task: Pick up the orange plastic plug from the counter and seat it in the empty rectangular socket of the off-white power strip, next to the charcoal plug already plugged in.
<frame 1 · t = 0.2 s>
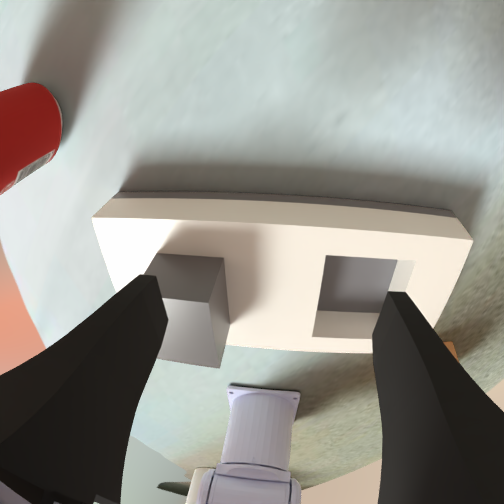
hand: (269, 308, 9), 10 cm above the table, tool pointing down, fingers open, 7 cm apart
power strip: (281, 262, 21), on the table
beverage can: (42, 120, 17), on the table
utensil holder: (221, 473, 62), on the table
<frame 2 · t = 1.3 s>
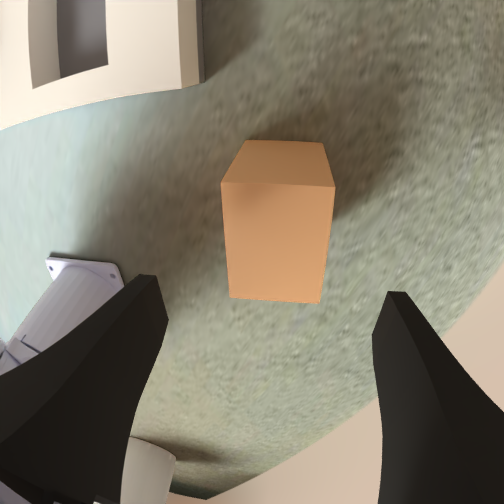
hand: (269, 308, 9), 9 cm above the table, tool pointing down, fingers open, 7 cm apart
power strip: (41, 42, 12), on the table
utensil holder: (146, 447, 54), on the table
plug: (283, 188, 17), on the table
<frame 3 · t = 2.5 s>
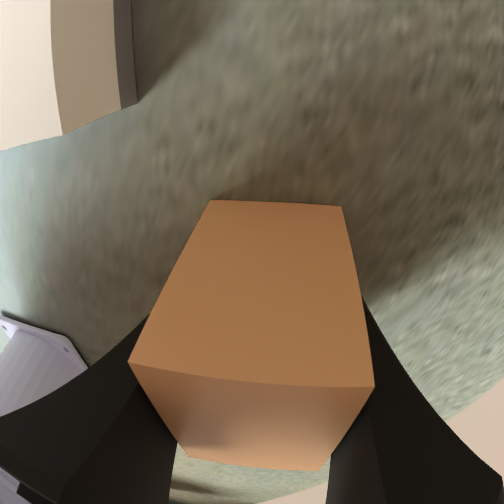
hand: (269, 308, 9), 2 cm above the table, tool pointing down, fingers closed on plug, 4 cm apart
plug: (273, 273, 11), on the table, touching gripper
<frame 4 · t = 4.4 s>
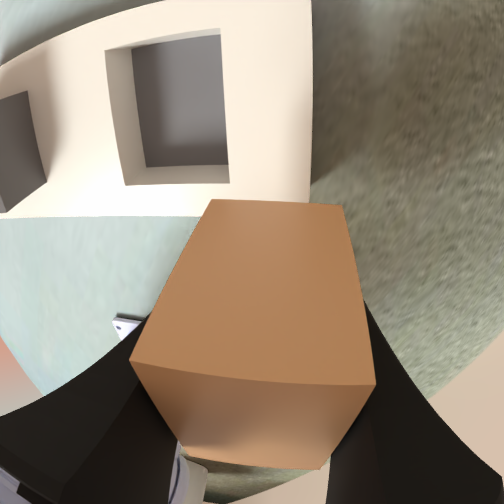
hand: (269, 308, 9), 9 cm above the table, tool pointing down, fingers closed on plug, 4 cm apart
power strip: (109, 111, 15), on the table
utensil holder: (179, 462, 56), on the table
plug: (274, 272, 11), point 7 cm above the table, touching gripper
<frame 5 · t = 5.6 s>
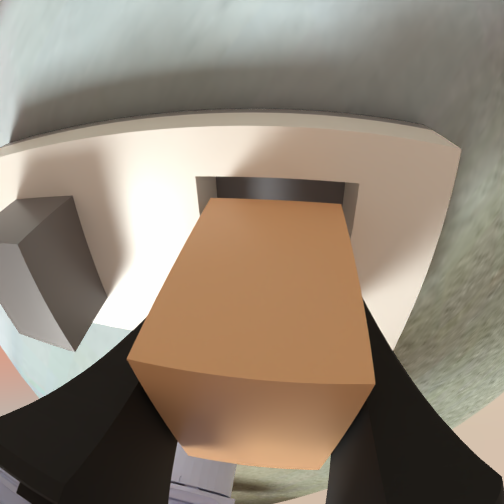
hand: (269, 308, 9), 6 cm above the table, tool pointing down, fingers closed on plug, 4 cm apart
power strip: (176, 214, 15), on the table
plug: (273, 271, 11), point 4 cm above the table, touching gripper
when the fingers open (4 cm above the table, at t = 6.4 s): plug drops 1 cm, resting on power strip.
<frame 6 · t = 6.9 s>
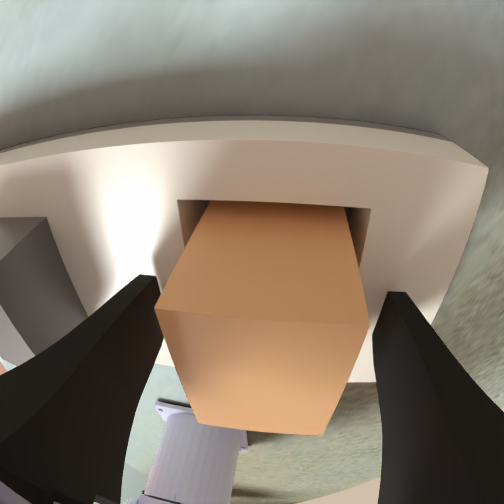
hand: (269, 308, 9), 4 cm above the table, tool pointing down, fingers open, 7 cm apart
power strip: (163, 232, 13), on the table
plug: (277, 251, 12), point 1 cm above the table, touching power strip
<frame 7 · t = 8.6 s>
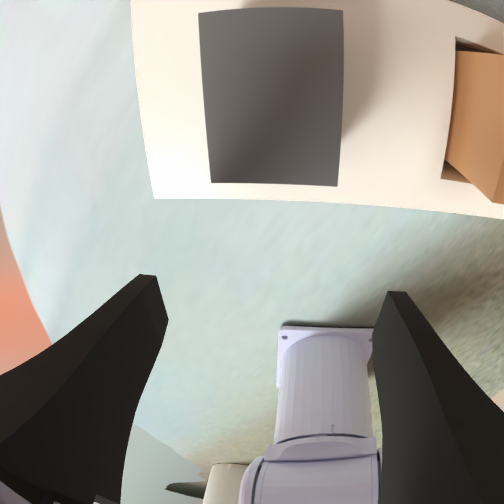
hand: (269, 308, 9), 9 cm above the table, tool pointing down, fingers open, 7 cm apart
power strip: (380, 89, 13), on the table
utensil holder: (243, 470, 54), on the table
plug: (471, 108, 11), point 1 cm above the table, touching power strip
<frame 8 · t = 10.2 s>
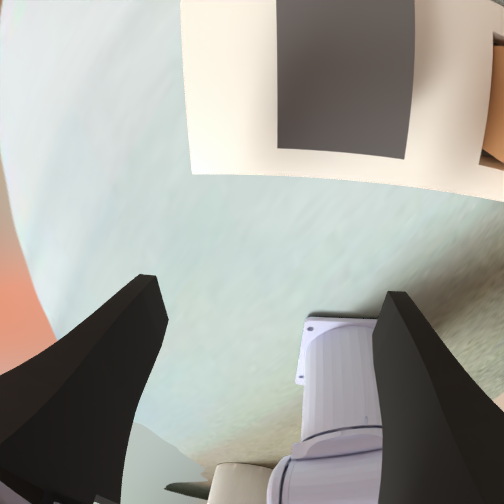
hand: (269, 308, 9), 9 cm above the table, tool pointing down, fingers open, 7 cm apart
power strip: (418, 77, 12), on the table
utensil holder: (248, 469, 53), on the table
plug: (500, 101, 11), point 1 cm above the table, touching power strip
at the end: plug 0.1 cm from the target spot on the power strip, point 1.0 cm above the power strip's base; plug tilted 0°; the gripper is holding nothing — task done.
